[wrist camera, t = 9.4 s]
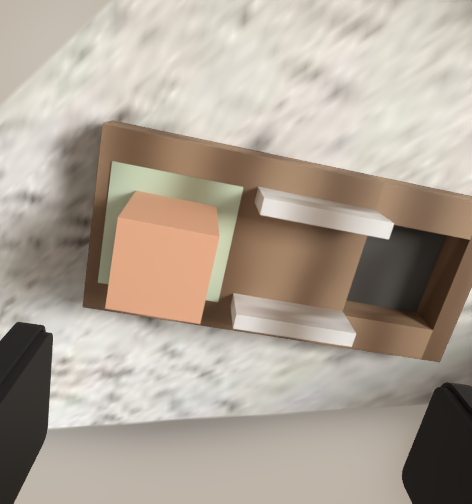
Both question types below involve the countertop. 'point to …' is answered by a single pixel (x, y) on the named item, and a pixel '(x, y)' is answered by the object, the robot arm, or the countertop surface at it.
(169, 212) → the block
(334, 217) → the track
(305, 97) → the countertop surface
